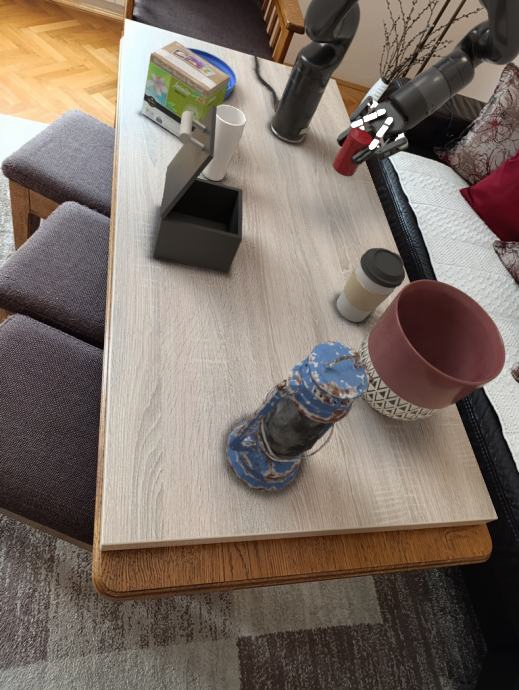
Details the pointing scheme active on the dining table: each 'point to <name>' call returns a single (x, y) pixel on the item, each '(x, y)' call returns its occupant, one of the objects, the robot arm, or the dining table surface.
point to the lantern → (296, 416)
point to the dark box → (202, 227)
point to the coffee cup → (370, 283)
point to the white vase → (225, 140)
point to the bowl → (220, 65)
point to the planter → (429, 351)
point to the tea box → (181, 86)
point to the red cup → (351, 151)
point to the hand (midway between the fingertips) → (345, 152)
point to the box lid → (189, 157)
